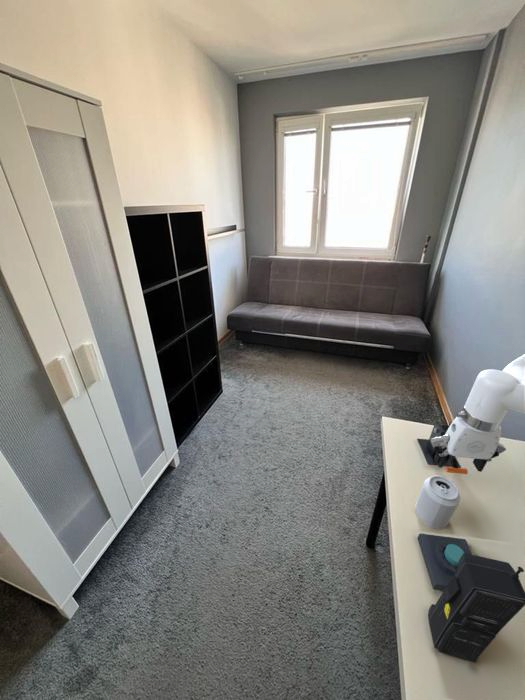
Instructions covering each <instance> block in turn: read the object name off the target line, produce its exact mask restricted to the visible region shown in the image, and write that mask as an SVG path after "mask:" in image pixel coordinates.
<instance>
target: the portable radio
mask: <svg viewBox="0 0 525 700" xmlns="http://www.w3.org/2000/svg"><path fill="white" fill-rule="evenodd" d="M524 572H525V570H524V569H523V567H521V566H517V570H515V569H514V568H513V566H512V565H511V564H510V563H509V562H507V561H504V560H498V559H494V558H489V557H485V556H479V555H475V554H472V555H471V554H467V553H463V554H462V556H461V558H460V559H459V561H458V570H457V572H456V573H455V575H454V576H453V578H452V579H451V581H450V582H449V583H448V584H447V586H446V587H445V588H444V589H443V590H441V591H442V593H441V595H440V596H439V598H438V600H437V601H436V603H431V604H430V606H429V608H428V612H427V619H428V625H429V629H430V634H431V635H430V636H431V639H432V644H433V647H434V648H435V649H437V651H438V652H439V653H442V654H445V655H448V656H452V657H455V658H458V659H461V660H465V661H469V662H472V663H476V662H477V660H478V659H479V657H480V656H481V655H482V654H483V652H484V651H485V650H486V649H487V648H488V647H489V646H490V645H491V643H492V642H493V641H494V640H495V638H496V637H497V635H498V634H499V633H500V631H501V630H502V629H504V627H505V626H507V624H508V623H509V622H510V621H511V620H512V619H513V618H514V617H515V616H516V615H517V614H518V613H519V612H520V611H521V610H522V609H523V608H524V607H525V589H524V587H523V585H522V582H521V579H520V574H521V573H524Z"/></svg>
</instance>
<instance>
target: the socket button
mask: <svg viewBox="0 0 525 700" xmlns="http://www.w3.org/2000/svg"><path fill="white" fill-rule="evenodd" d="M463 553H464V552H463V550H462V549H461V548H460V547H458V546H457V545H454V544H449V545H447V547H446V549H445V550H444V555H445V558H446V559H447V561H448V562H449V563H450V564H452V565H453V566H456V567H458V561H459V559H460V558H461V556H462V554H463Z"/></svg>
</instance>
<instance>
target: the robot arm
mask: <svg viewBox="0 0 525 700" xmlns="http://www.w3.org/2000/svg"><path fill="white" fill-rule="evenodd" d="M508 411H514V412H517V413H520V414H524V415H525V354H523V355H521V356H519V357H517V358H516V359H514V360H513V361H511V362H510V363H508V364H507V365H506V366H505V367H504V368H503V369H502V370H500V369H493V368H491V369H490V368H489V369H484V370H481V371H480V372H479V373H478V374H477V376H476V379H475V380H474V382H473V386H472V387H471V390H470V392H469V395H468V396H467V399H466V401H465V404H464V405H463V408H462V410H461V411H456V413H455V416H456V417H455V418H454V419H453V420H452V421H451V422H452V424H451V425H450V427H449V428H448V430H447V432H446V434H445V435H444V436H440V437H435V438H431V439H430V440H431V443H432V445H433V448H434V450H435V451H436V454H435V457H434V460H435V462H437V464H438V465H437V467H438V468H443V467H444V466H443V464H444V462H445V460H446V457H445V456H446V455H448V454H450V455H452V456H455V457H456V458H457V457H458V458H465V459H466V458H467V459H473V460H472V464H473V465H474V467H475V469H476V470H477V472H480V473H481V472H483V470H484V468H485V466H486V465H487V463H488V462H489V463H490V462H491V461H492V459H495V458H497V457H500V455H501V454H503V452H505V451H506V450H507V448H506V447H505V446H504V444H502V443H500V440H501V435H502V426H501V424H502V422H503V421H504V418H505V417H506V415H507V414H508ZM441 443H442V444H441ZM439 444H440V445H439ZM445 447H446V448H447V449H446V450H444V451H443V448H445Z"/></svg>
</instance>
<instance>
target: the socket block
mask: <svg viewBox="0 0 525 700" xmlns="http://www.w3.org/2000/svg"><path fill="white" fill-rule="evenodd" d="M417 541H418V545H419V548H420V551H421V552H420V553H421V555H422V557H423V561H424V564H425V568H426V571H427V573H428V577H429V580H430V583H431V587H432V589H433V590H435V591H436V590H437V591H442V590H443V589H444V588H445V587H446V586H447V584H448V583H449V582H450V581H451V579H452V578H453V576H454V575H455V573H456V572H457V570H458V567H456V566H453V565H452V564H450V563H449V562H448V561H447V559H446V558H445V555H444V550H445V549H446V547H447V545H449V544H454V545H457V546H458V547H460V548H461V549H462V550H463V552H464V553H467V554H471V555H473V553H472V550H471V548H470V546H469V544H468V541H467V539H465V538H458V537H451V536H443V535H435V534H428V533H419V534H418V535H417Z"/></svg>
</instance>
